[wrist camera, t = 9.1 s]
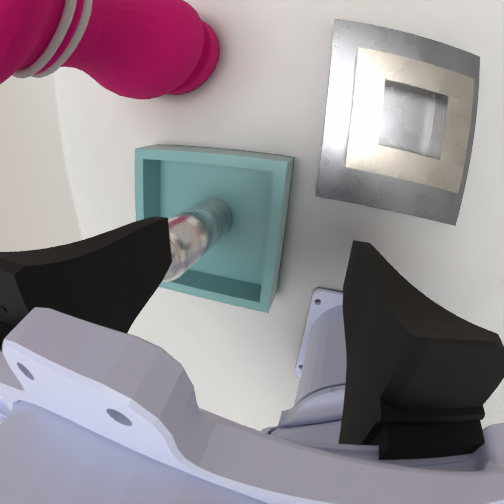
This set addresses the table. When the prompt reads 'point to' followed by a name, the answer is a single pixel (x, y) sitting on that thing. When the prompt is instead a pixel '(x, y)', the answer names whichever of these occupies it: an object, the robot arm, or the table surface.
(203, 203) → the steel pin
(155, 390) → the robot arm
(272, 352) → the table surface
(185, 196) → the tray
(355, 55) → the hitch plate
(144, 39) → the pepper mill
